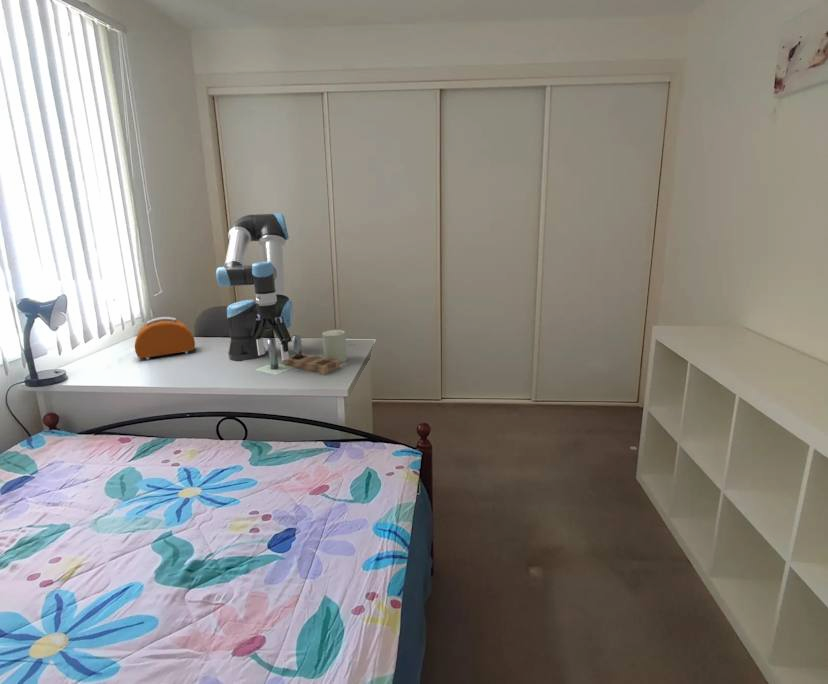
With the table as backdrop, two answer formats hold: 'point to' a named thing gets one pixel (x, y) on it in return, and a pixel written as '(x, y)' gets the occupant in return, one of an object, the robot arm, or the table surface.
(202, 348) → the table surface
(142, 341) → the alarm clock
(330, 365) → the socket block
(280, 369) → the mat
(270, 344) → the pin
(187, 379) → the table surface
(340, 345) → the can
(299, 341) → the pin
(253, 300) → the robot arm
